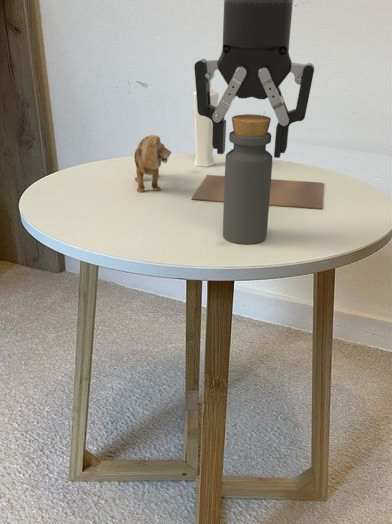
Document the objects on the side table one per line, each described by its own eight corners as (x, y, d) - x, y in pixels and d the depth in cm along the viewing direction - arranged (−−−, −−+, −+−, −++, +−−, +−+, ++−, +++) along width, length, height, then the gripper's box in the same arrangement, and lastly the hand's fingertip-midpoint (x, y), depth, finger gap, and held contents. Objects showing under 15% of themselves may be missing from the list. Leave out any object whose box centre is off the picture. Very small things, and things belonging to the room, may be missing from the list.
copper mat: (323, 183, 102) (323, 182, 102) (322, 209, 90) (322, 208, 90) (207, 176, 105) (207, 174, 105) (191, 199, 93) (191, 198, 93)
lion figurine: (173, 197, 94) (172, 137, 89) (139, 198, 93) (137, 138, 88) (156, 172, 106) (155, 119, 102) (126, 173, 105) (124, 119, 101)
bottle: (260, 247, 76) (269, 124, 69) (216, 240, 78) (220, 119, 70) (271, 232, 81) (280, 115, 73) (230, 226, 83) (235, 111, 75)
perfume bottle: (218, 162, 113) (221, 75, 105) (213, 167, 110) (216, 78, 102) (194, 160, 114) (195, 74, 106) (189, 165, 110) (189, 77, 103)
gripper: (187, -3, 63) (186, 158, 72) (324, 0, 61) (306, 166, 70) (200, -4, 70) (197, 144, 78) (325, -1, 68) (308, 151, 76)
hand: (249, 154), depth 74 cm, fingers open, 6 cm apart
